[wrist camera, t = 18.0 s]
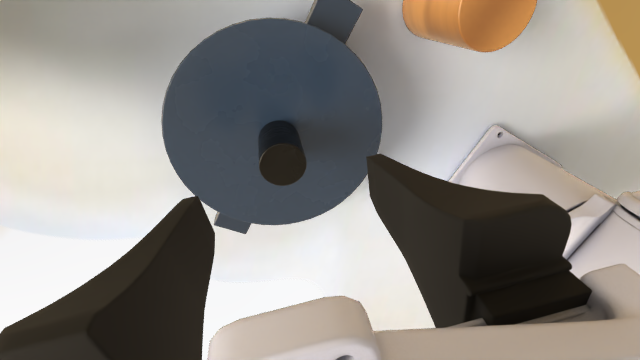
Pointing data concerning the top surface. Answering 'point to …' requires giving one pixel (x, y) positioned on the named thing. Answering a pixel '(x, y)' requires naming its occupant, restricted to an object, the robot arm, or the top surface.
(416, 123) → the top surface
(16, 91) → the top surface
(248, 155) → the lid
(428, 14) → the peg
